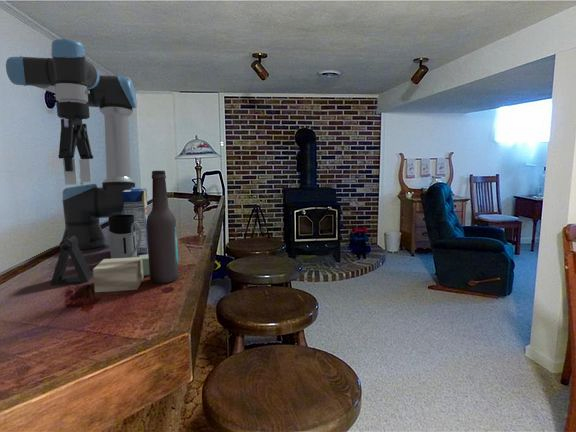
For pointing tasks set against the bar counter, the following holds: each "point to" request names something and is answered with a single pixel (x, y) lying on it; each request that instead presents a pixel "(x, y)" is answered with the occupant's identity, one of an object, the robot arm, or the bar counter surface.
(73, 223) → the robot arm
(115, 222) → the grey black handled cylinder
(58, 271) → the phone stand
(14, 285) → the bar counter surface
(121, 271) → the maple block
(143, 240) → the beverage box
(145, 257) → the sage cube
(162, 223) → the beer bottle
